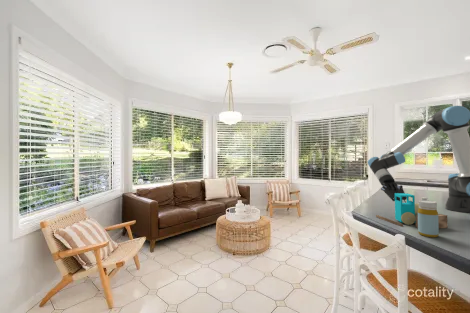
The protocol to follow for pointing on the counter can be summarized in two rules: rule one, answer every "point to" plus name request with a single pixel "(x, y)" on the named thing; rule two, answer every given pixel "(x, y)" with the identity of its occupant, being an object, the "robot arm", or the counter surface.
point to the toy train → (406, 208)
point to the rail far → (389, 220)
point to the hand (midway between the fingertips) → (407, 211)
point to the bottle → (428, 218)
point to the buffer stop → (441, 221)
